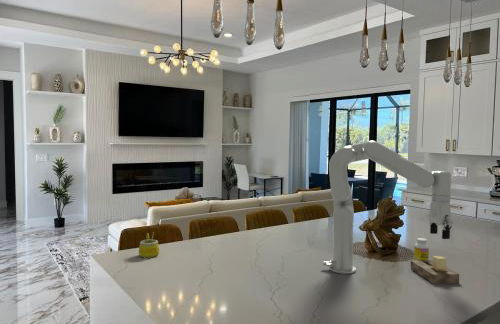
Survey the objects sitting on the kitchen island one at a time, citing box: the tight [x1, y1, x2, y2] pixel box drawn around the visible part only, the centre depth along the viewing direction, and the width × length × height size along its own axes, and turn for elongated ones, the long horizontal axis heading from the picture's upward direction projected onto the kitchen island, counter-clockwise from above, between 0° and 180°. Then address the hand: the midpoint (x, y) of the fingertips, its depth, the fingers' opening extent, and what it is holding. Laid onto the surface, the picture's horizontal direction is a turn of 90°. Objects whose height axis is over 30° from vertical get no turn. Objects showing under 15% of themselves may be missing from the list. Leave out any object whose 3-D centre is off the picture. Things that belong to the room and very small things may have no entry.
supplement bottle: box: [413, 237, 430, 261], centre depth 194 cm, size 7×7×13 cm
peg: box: [432, 255, 447, 272], centre depth 172 cm, size 4×4×10 cm
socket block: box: [410, 259, 460, 285], centre depth 177 cm, size 12×20×4 cm, turn 3°
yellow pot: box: [138, 231, 160, 259], centre depth 207 cm, size 13×11×12 cm
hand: (439, 236), depth 172 cm, fingers open, 9 cm apart
